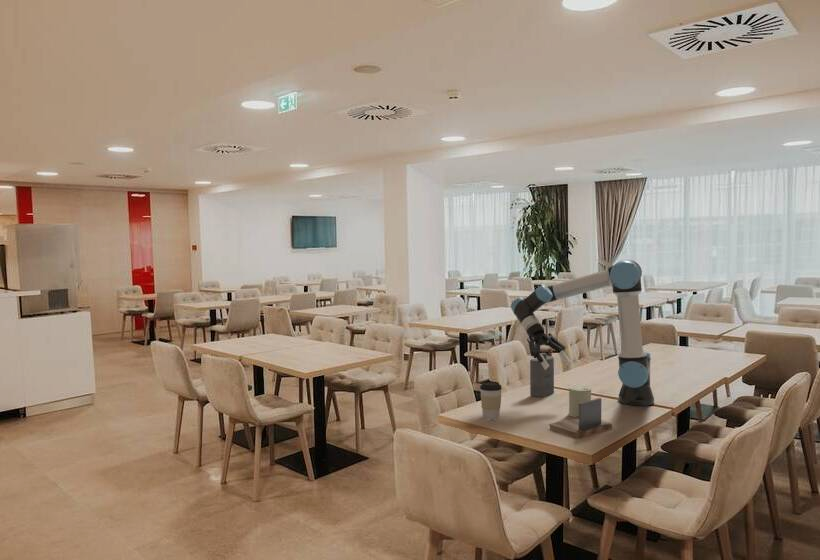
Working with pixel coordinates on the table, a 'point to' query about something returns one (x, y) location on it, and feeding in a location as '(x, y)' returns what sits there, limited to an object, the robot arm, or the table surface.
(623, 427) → the table surface
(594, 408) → the bookend
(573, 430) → the shelf board
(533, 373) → the flask
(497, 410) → the coffee cup
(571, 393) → the can
